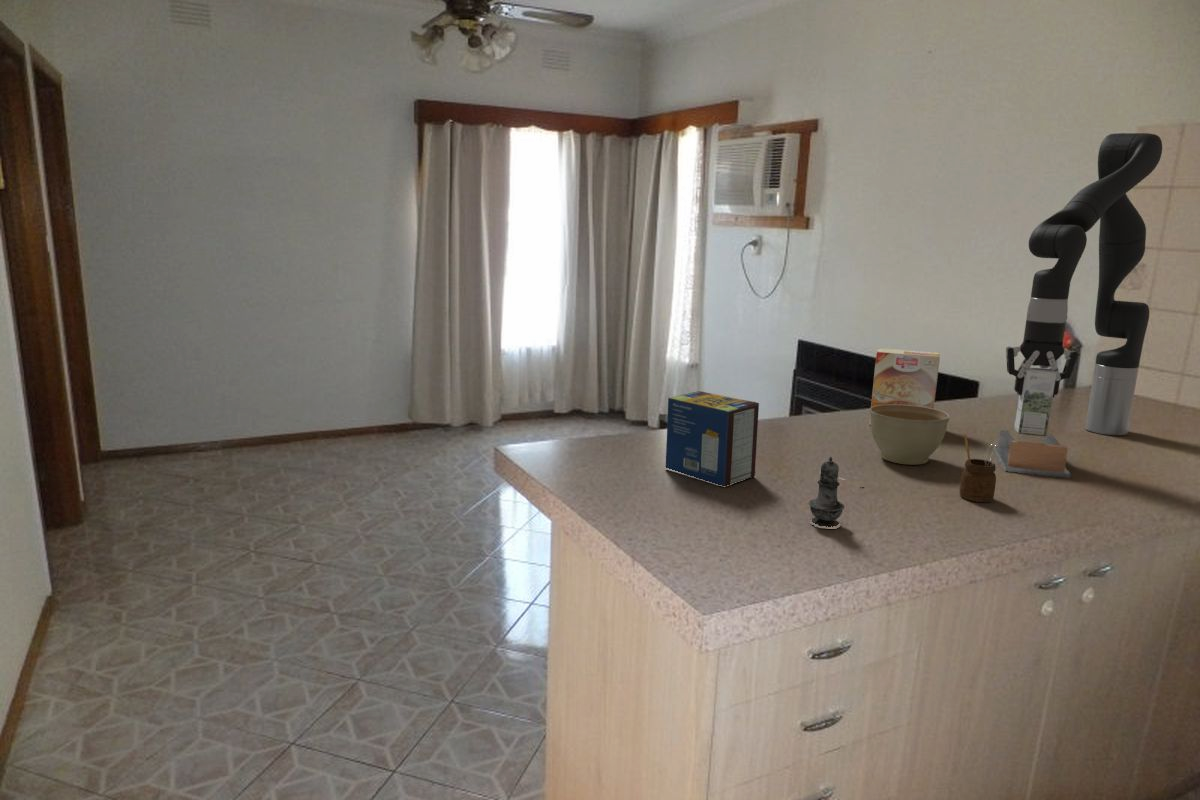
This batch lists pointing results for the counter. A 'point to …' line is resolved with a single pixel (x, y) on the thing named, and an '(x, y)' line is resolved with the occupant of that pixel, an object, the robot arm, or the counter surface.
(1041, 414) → the syrup box
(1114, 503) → the counter surface
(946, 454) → the counter surface
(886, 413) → the planter bowl
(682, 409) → the protein box
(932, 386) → the coffeecake box
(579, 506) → the counter surface
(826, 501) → the salt shaker
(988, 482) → the utensil holder
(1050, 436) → the guide bracket
